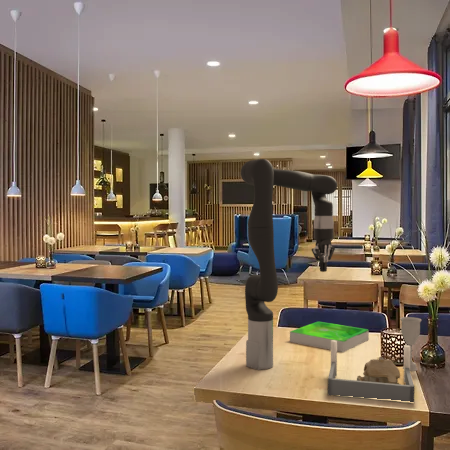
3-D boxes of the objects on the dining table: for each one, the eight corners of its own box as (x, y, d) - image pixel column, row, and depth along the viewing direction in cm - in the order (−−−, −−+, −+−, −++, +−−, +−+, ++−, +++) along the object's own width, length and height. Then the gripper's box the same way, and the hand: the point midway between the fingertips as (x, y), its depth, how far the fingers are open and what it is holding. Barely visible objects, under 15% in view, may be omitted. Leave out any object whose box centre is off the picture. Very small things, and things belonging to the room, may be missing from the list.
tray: (289, 342, 216) (289, 331, 215) (318, 331, 235) (318, 321, 235) (342, 353, 200) (343, 341, 200) (368, 340, 219) (368, 329, 219)
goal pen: (415, 403, 147) (416, 363, 146) (326, 395, 154) (326, 356, 153) (409, 381, 166) (410, 345, 166) (331, 374, 173) (331, 340, 173)
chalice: (421, 367, 181) (422, 318, 180) (420, 372, 174) (421, 321, 174) (400, 364, 184) (400, 316, 183) (398, 370, 177) (399, 320, 177)
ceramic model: (397, 382, 165) (397, 352, 165) (408, 395, 154) (408, 363, 154) (354, 381, 166) (354, 352, 166) (362, 394, 155) (362, 362, 154)
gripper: (321, 228, 187) (321, 273, 188) (341, 227, 197) (340, 270, 197) (305, 227, 193) (305, 272, 193) (325, 226, 202) (325, 269, 203)
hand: (323, 271), depth 195 cm, fingers closed
